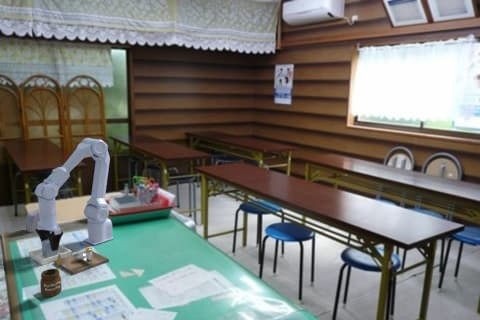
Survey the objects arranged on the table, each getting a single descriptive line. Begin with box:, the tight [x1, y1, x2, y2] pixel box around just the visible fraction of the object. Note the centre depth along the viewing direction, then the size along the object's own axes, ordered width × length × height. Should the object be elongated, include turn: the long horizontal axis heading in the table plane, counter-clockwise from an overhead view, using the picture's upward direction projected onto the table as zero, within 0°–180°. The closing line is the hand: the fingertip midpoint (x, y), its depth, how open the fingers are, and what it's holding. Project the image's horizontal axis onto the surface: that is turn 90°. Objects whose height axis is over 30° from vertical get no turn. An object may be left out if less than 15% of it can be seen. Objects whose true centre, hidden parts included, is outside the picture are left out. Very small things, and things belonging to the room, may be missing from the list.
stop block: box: [41, 239, 58, 258], centre depth 144 cm, size 4×4×6 cm
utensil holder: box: [38, 254, 62, 298], centre depth 117 cm, size 6×6×12 cm
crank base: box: [53, 249, 110, 275], centre depth 140 cm, size 14×14×1 cm
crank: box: [75, 247, 93, 264], centre depth 138 cm, size 8×4×6 cm, turn 52°
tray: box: [28, 244, 73, 266], centre depth 144 cm, size 11×11×2 cm
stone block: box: [25, 208, 40, 233], centre depth 171 cm, size 12×5×10 cm, turn 168°
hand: (50, 247), depth 144 cm, fingers open, 7 cm apart
